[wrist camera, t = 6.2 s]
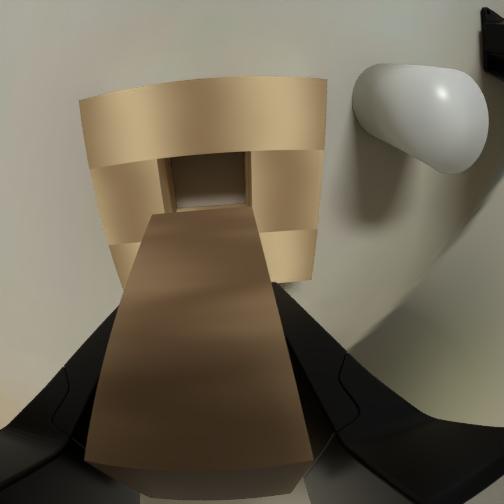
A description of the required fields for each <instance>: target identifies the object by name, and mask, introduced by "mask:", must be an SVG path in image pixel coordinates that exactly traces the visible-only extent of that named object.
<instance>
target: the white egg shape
mask: <svg viewBox="0 0 504 504" xmlns="http://www.w3.org/2000/svg"><path fill="white" fill-rule="evenodd" d="M352 104H353V109H354V113H355V116H356V118H357V120H358V122H359V123H360V125H361V126H362V127H363V129H364V130H365V131H367V132H368V133H369V134H371V135H372V136H374V137H376V138H378V139H380V140H382V141H384V142H386V143H388V144H390V145H392V146H394V147H396V148H398V149H400V150H402V151H404V152H406V153H407V154H409V155H411V156H413V157H415V158H417V159H418V160H420V161H422V162H424V163H425V164H427V165H429V166H430V167H432V168H434V169H436V170H437V171H439V172H441V173H444V174H458V173H460V172H463V171H465V170H466V169H468V168H469V167H470V166H471V165H472V164H474V162H475V161H476V160H477V159H478V157H479V156H480V154H481V152H482V150H483V148H484V145H485V142H486V139H487V134H488V127H489V117H488V109H487V104H486V101H485V98H484V95H483V93H482V91H481V89H480V88H479V86H478V85H477V83H476V82H475V81H474V80H473V79H472V78H471V77H470V76H469V75H467V74H466V73H464V72H462V71H459V70H455V69H448V68H440V67H430V66H419V65H405V64H376V65H373V66H371V67H369V68H367V69H366V70H364V71H363V72H362V73H361V75H360V76H359V77H358V79H357V81H356V83H355V85H354V89H353V95H352Z"/></svg>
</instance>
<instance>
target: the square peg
mask: <svg viewBox="0 0 504 504" xmlns="http://www.w3.org/2000/svg"><path fill="white" fill-rule="evenodd" d="M313 460H314V458H313V454H312V450H311V445H310V441H309V437H308V432H307V428H306V424H305V420H304V415H303V411H302V407H301V403H300V398H299V394H298V390H297V386H296V382H295V377H294V373H293V369H292V365H291V361H290V357H289V353H288V348H287V344H286V340H285V336H284V332H283V328H282V324H281V320H280V316H279V312H278V308H277V304H276V300H275V296H274V292H273V288H272V284H271V280H270V276H269V272H268V268H267V264H266V260H265V256H264V252H263V248H262V244H261V240H260V236H259V232H258V228H257V224H256V220H255V216H254V213H253V209H252V207H236V208H222V209H209V210H196V211H184V212H173V213H162V214H152V216H151V218H150V221H149V223H148V226H147V228H146V231H145V233H144V236H143V239H142V241H141V244H140V247H139V249H138V252H137V255H136V257H135V260H134V263H133V266H132V268H131V271H130V274H129V277H128V280H127V283H126V286H125V289H124V292H123V295H122V298H121V301H120V304H119V308H118V311H117V314H116V317H115V321H114V324H113V328H112V331H111V335H110V338H109V342H108V345H107V349H106V353H105V357H104V361H103V365H102V369H101V373H100V377H99V382H98V386H97V390H96V395H95V400H94V405H93V410H92V415H91V420H90V426H89V432H88V438H87V444H86V451H85V458H84V461H86V462H87V463H89V464H90V465H92V466H93V467H95V468H97V469H98V470H100V471H101V472H103V473H105V474H106V475H108V476H110V477H112V478H113V479H115V480H117V481H119V482H120V483H122V484H124V485H126V486H128V487H130V488H132V489H134V490H136V491H138V492H140V493H142V494H144V495H146V496H148V497H150V498H160V499H174V500H230V499H231V500H232V499H246V498H257V497H267V496H275V495H282V494H289V493H291V492H292V491H293V489H294V488H295V486H296V485H297V483H298V482H299V481H300V479H301V478H302V477H303V475H304V474H305V472H306V471H307V469H308V468H309V466H310V465H311V463H312V462H313Z"/></svg>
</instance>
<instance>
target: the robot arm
mask: <svg viewBox="0 0 504 504" xmlns="http://www.w3.org/2000/svg"><path fill="white" fill-rule="evenodd" d="M482 19H483V35H484V70H485V72H486V73H488V74H490V75H492V76H494V77H496V78H498V79H500V80H502V81H503V82H504V18H502V17H501V16H499V15H498V14H497V13H495V12H494V11H492V10H491V9H489V8H487V7H483V8H482ZM271 284H272V288H273V292H274V296H275V300H276V304H277V308H278V312H279V316H280V320H281V324H282V328H283V332H284V336H285V340H286V344H287V348H288V353H289V357H290V361H291V365H292V369H293V373H294V377H295V382H296V386H297V390H298V394H299V398H300V403H301V407H302V411H303V415H304V420H305V424H306V428H307V432H308V437H309V441H310V445H311V450H312V454H313V458H314V460H313V462H312V463H311V465H310V466H309V468H308V469H307V471H306V472H305V474H304V475H303V478H304V482H305V485H306V489H307V492H308V495H309V499H310V502H311V504H504V427H491V426H482V425H473V424H466V423H459V422H452V421H446V420H441V419H436V418H433V417H431V416H429V415H426V414H425V413H423V412H421V411H420V410H418V409H417V408H415V407H414V406H412V405H411V404H410V403H408V402H407V401H406V400H404V399H403V398H402V397H400V396H399V395H398V394H396V393H395V392H394V391H392V390H391V389H390V388H389V387H387V386H386V385H385V384H383V383H382V382H381V381H380V380H378V379H377V378H376V377H375V376H373V375H372V374H371V373H370V372H368V370H366V369H365V368H364V367H363V366H362V365H361V364H360V363H359V362H358V361H357V360H356V359H355V358H354V357H353V356H351V355H350V354H349V353H347V351H346V350H345V349H344V348H343V347H342V346H341V345H340V344H339V343H338V342H337V341H336V340H335V339H334V338H333V337H332V336H331V335H330V334H329V333H328V332H327V331H326V330H325V329H324V328H323V327H322V326H321V325H320V324H319V323H318V322H317V321H316V320H314V319H313V318H312V317H311V316H310V315H309V314H308V313H307V312H306V311H305V310H304V309H303V308H302V307H301V306H300V305H299V304H298V303H297V302H296V301H295V300H294V299H293V298H292V297H291V296H290V295H289V294H288V293H287V292H286V291H285V290H284V289H283V288H282V287H281V286H280V285H279V284H278V283H277V282H271ZM118 308H119V306H118V307H117V308H116V309H115V310H114V311H113V312H112V313H111V314H110V315H109V316H108V317H107V318H106V319H105V321H104V322H103V323H102V324H101V325H100V326H99V327H98V328H97V329H96V330H95V331H94V332H93V334H92V335H91V336H90V337H89V338H88V339H87V340H86V341H85V342H84V343H83V345H82V346H81V347H80V348H79V349H78V350H77V351H76V352H75V354H74V355H73V356H72V357H71V358H70V359H69V360H68V362H67V363H66V364H65V365H64V367H62V368H61V369H60V371H59V372H58V373H57V374H56V375H55V376H54V378H53V379H52V380H51V381H50V382H49V383H48V384H47V385H46V387H45V388H44V389H43V390H42V391H41V392H40V393H39V394H38V395H37V396H36V397H35V398H34V399H33V400H32V401H31V402H30V403H29V404H28V405H27V406H26V407H25V408H24V409H23V410H22V411H21V412H20V413H19V414H18V415H17V416H16V417H15V418H14V419H13V420H12V421H11V422H10V423H9V424H8V425H7V426H5V427H4V428H2V429H1V430H0V504H140V492H138V491H136V490H134V489H132V488H130V487H128V486H126V485H124V484H122V483H120V482H119V481H117V480H115V479H113V478H112V477H110V476H108V475H106V474H105V473H103V472H101V471H100V470H98V469H97V468H95V467H93V466H92V465H90V464H89V463H87V462H86V461H84V458H85V451H86V444H87V438H88V432H89V426H90V420H91V415H92V410H93V405H94V400H95V395H96V390H97V386H98V382H99V377H100V373H101V369H102V365H103V361H104V357H105V353H106V349H107V345H108V342H109V338H110V335H111V331H112V328H113V324H114V321H115V317H116V314H117V311H118ZM346 353H347V354H346Z"/></svg>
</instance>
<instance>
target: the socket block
mask: <svg viewBox="0 0 504 504" xmlns="http://www.w3.org/2000/svg"><path fill="white" fill-rule="evenodd" d="M326 103H327V79H318V78H304V77H278V76H247V77H222V78H207V79H195V80H185V81H177V82H169V83H162V84H155V85H149V86H143V87H137V88H131V89H126V90H121V91H117V92H112V93H107V94H103V95H99V96H95V97H91V98H87V99H83V100H79V105H80V113H81V121H82V128H83V134H84V141H85V147H86V152H87V158H88V163H89V168H90V173H91V178H92V182H93V187H94V191H95V195H96V200H97V204H98V208H99V212H100V216H101V219H102V223H103V227H104V230H105V234H106V238H107V241H108V244H109V248H110V251H111V254H112V258H113V261H114V264H115V267H116V270H117V273H118V276H119V279H120V282H121V285H122V288H123V290H124V289H125V286H126V283H127V280H128V277H129V274H130V271H131V268H132V266H133V263H134V260H135V257H136V255H137V252H138V249H139V247H140V244H141V241H142V239H143V236H144V233H145V231H146V228H147V226H148V223H149V221H150V218H151V216H152V214H162V213H173V212H184V211H196V210H209V209H222V208H236V207H252V209H253V213H254V216H255V220H256V224H257V228H258V232H259V236H260V240H261V244H262V248H263V252H264V256H265V260H266V264H267V268H268V272H269V276H270V280H271V282H277V283H285V282H296V281H306V280H312V272H313V264H314V256H315V248H316V239H317V230H318V220H319V210H320V199H321V187H322V175H323V161H324V145H325V127H326ZM241 151H244V153H245V189H246V203H244V204H229V205H215V206H203V207H191V208H180V209H177V204H176V197H175V190H174V182H173V174H172V166H171V157H177V156H187V155H198V154H210V153H224V152H241Z"/></svg>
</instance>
